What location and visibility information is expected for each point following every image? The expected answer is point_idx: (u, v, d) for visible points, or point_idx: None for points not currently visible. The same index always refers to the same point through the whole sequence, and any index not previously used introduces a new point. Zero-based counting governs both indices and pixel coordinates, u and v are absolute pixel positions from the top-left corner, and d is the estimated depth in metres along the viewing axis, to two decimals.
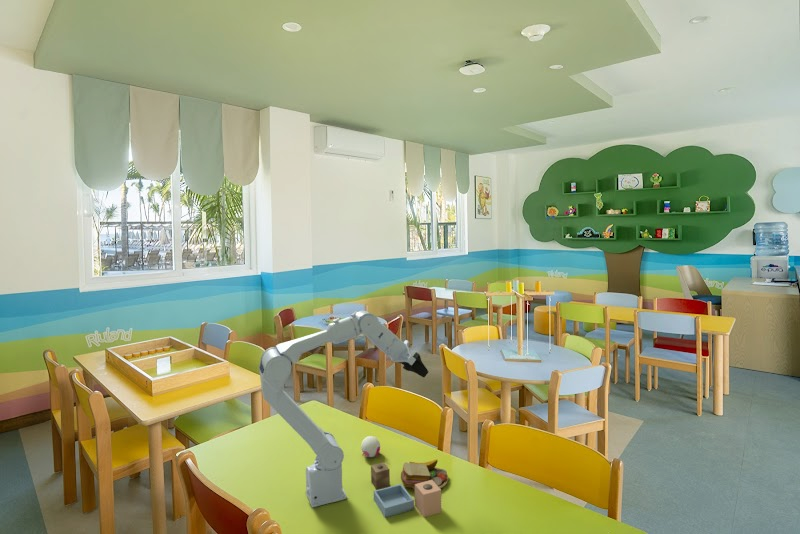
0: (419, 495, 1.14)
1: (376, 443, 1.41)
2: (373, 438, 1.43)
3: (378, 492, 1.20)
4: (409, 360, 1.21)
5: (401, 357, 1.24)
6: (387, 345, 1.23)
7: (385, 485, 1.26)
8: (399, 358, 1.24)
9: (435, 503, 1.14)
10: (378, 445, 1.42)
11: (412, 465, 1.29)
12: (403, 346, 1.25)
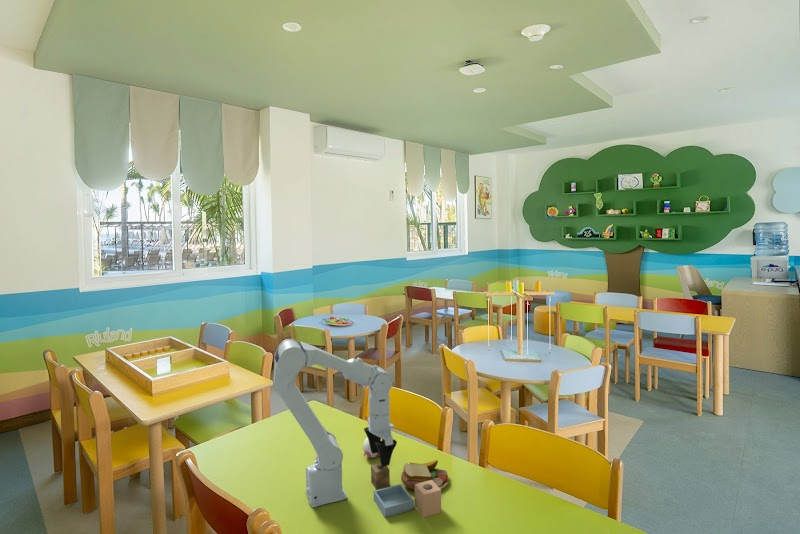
0: (419, 495, 1.14)
1: None
2: None
3: (378, 492, 1.20)
4: (388, 440, 1.19)
5: (380, 433, 1.23)
6: (379, 413, 1.22)
7: (385, 485, 1.26)
8: (378, 432, 1.23)
9: (435, 503, 1.14)
10: None
11: (412, 466, 1.29)
12: (388, 426, 1.24)
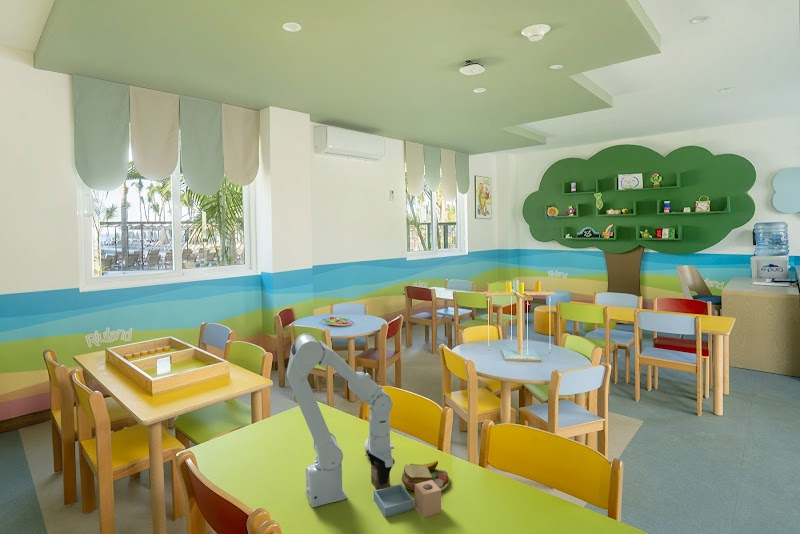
0: (419, 495, 1.14)
1: None
2: None
3: (378, 492, 1.20)
4: (388, 461, 1.19)
5: (380, 454, 1.23)
6: (379, 434, 1.23)
7: (385, 485, 1.26)
8: (378, 453, 1.23)
9: (435, 503, 1.14)
10: None
11: (413, 467, 1.28)
12: (388, 447, 1.25)
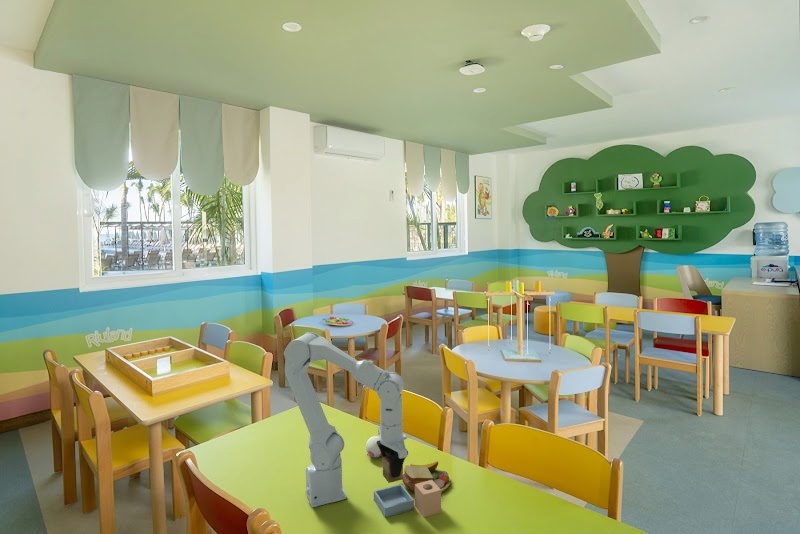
0: (419, 495, 1.14)
1: None
2: (378, 438, 1.43)
3: (378, 492, 1.20)
4: (402, 452, 1.10)
5: (393, 444, 1.14)
6: (385, 422, 1.14)
7: (398, 478, 1.16)
8: (390, 444, 1.14)
9: (435, 503, 1.14)
10: None
11: (413, 468, 1.28)
12: (401, 437, 1.16)
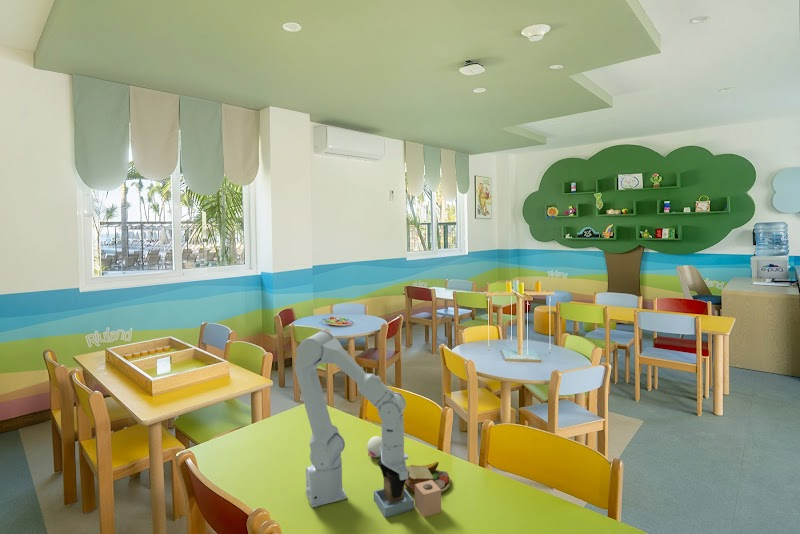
0: (419, 495, 1.14)
1: None
2: (379, 438, 1.43)
3: (378, 492, 1.20)
4: (403, 474, 1.10)
5: (394, 465, 1.14)
6: (386, 443, 1.14)
7: (399, 499, 1.16)
8: (391, 465, 1.14)
9: (435, 503, 1.14)
10: None
11: (414, 468, 1.28)
12: (402, 457, 1.15)
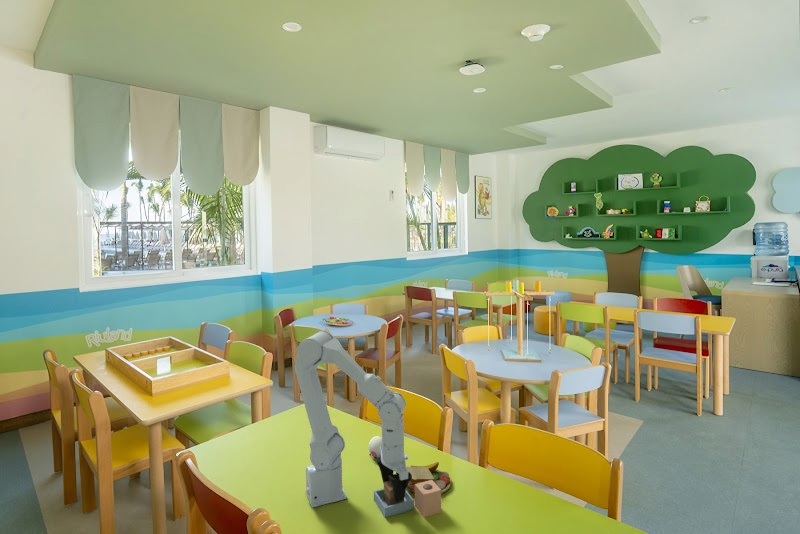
0: (419, 495, 1.14)
1: None
2: (380, 438, 1.43)
3: (378, 492, 1.20)
4: (403, 474, 1.10)
5: (394, 465, 1.14)
6: (386, 443, 1.14)
7: None
8: (391, 465, 1.14)
9: (435, 503, 1.14)
10: None
11: (414, 469, 1.27)
12: (402, 457, 1.15)
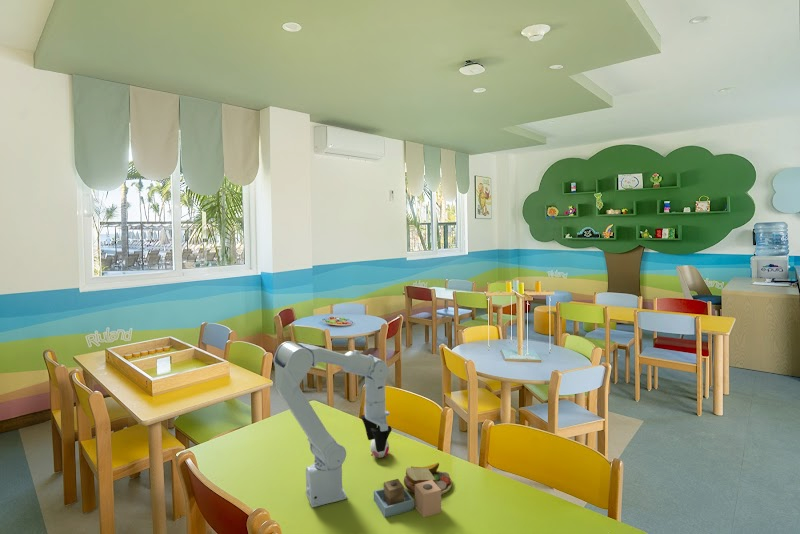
0: (419, 495, 1.14)
1: None
2: None
3: (378, 492, 1.20)
4: (383, 426, 1.23)
5: (376, 419, 1.27)
6: (377, 400, 1.26)
7: None
8: (373, 419, 1.27)
9: (435, 503, 1.14)
10: (387, 445, 1.42)
11: (415, 470, 1.27)
12: (384, 413, 1.28)
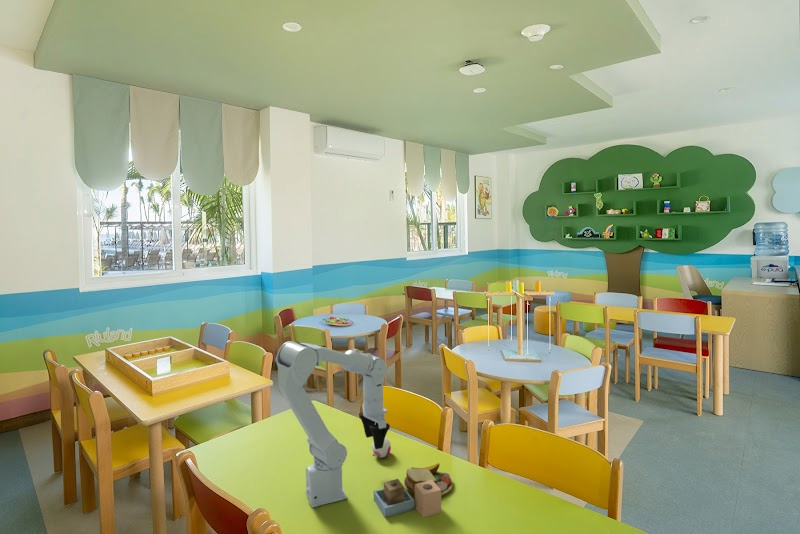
0: (419, 495, 1.14)
1: (386, 444, 1.41)
2: None
3: (378, 492, 1.20)
4: (381, 423, 1.24)
5: (374, 417, 1.28)
6: (376, 397, 1.28)
7: None
8: (372, 416, 1.28)
9: (435, 503, 1.14)
10: (389, 445, 1.42)
11: (415, 471, 1.26)
12: (382, 410, 1.30)
